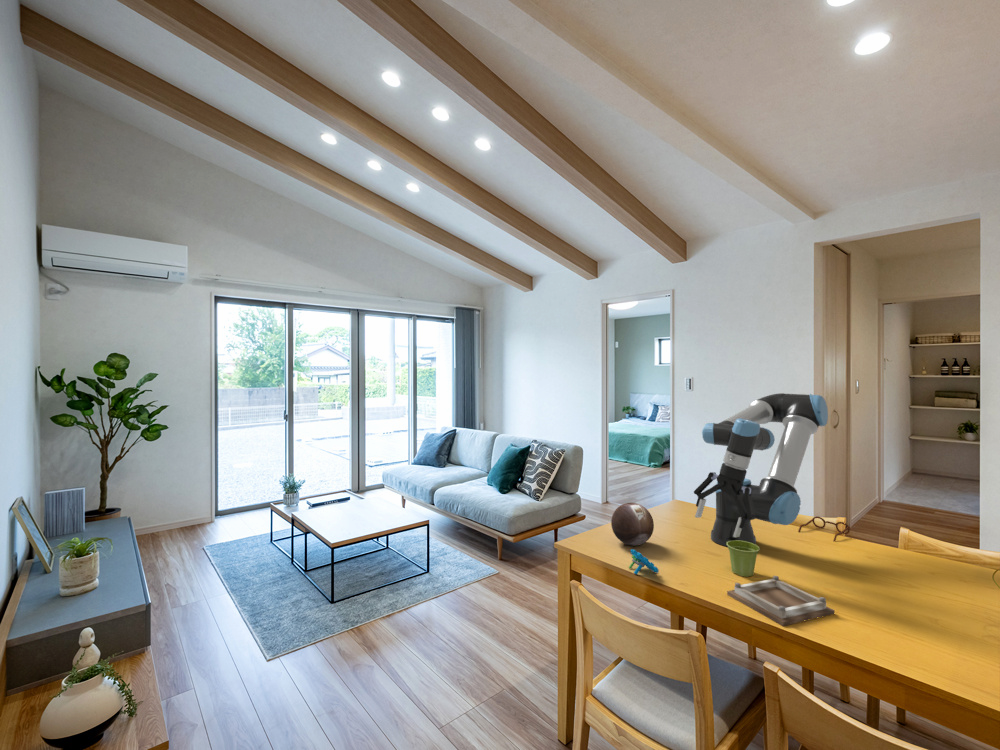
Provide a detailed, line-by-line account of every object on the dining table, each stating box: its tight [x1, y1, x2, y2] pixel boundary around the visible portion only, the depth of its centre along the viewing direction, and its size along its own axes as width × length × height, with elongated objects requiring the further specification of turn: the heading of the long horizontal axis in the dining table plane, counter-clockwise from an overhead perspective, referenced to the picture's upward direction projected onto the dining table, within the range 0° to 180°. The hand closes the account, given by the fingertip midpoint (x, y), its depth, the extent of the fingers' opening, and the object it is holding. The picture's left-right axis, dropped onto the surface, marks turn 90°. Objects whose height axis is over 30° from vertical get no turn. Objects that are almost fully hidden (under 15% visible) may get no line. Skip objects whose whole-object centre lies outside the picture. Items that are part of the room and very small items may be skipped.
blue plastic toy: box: [628, 548, 660, 576], centre depth 154 cm, size 11×6×10 cm
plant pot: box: [726, 540, 761, 578], centre depth 153 cm, size 9×9×9 cm
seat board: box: [726, 575, 836, 627], centre depth 133 cm, size 18×18×4 cm
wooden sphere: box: [610, 502, 655, 547], centre depth 178 cm, size 15×15×15 cm
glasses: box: [797, 515, 851, 542], centre depth 190 cm, size 13×13×5 cm
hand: (716, 526), depth 161 cm, fingers open, 13 cm apart
